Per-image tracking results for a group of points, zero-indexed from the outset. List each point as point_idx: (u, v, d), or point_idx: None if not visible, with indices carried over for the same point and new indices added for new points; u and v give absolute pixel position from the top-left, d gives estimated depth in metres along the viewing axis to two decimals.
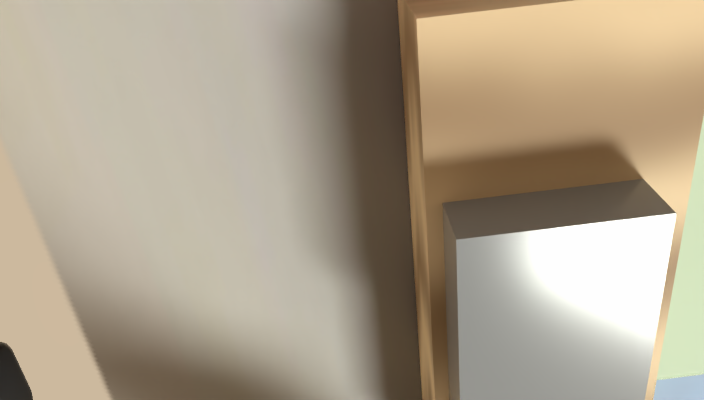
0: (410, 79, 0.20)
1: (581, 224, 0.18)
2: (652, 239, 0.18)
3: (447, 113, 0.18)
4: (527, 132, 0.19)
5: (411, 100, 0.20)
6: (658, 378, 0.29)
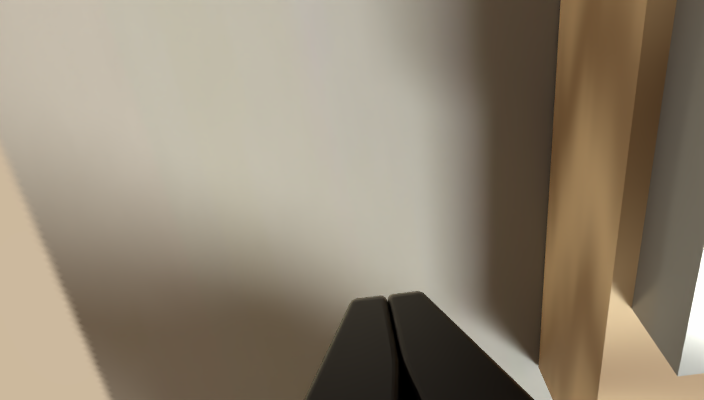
0: None
1: None
2: None
3: None
4: None
5: None
6: None
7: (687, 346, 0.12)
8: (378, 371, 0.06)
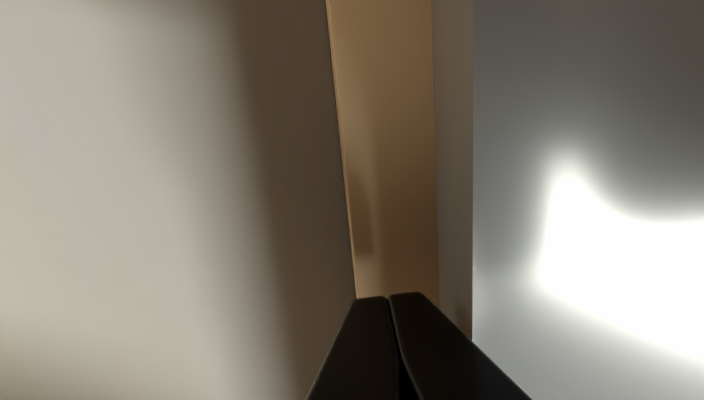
0: None
1: None
2: None
3: None
4: None
5: None
6: None
7: None
8: (379, 371, 0.06)
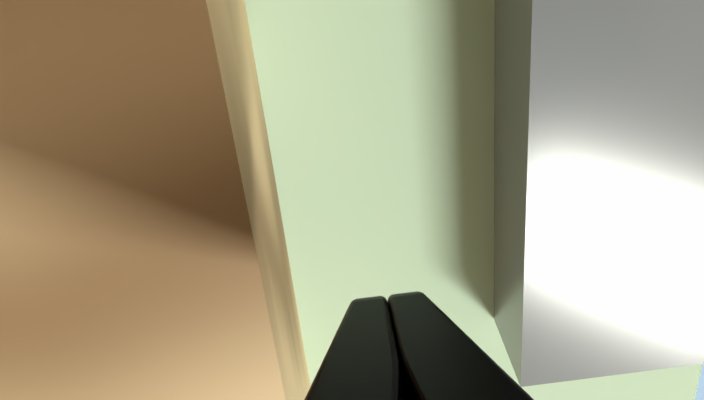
0: None
1: None
2: None
3: None
4: None
5: None
6: None
7: None
8: (378, 371, 0.06)
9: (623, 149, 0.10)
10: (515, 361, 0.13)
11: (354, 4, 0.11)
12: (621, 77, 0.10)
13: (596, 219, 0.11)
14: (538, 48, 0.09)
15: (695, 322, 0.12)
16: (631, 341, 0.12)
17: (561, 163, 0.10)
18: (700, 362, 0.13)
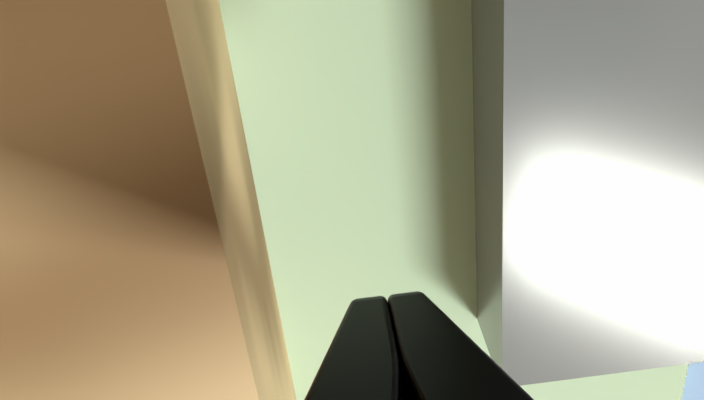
0: None
1: None
2: None
3: None
4: None
5: None
6: None
7: None
8: (378, 371, 0.06)
9: (599, 149, 0.10)
10: (496, 362, 0.13)
11: (329, 3, 0.11)
12: (596, 76, 0.10)
13: (573, 219, 0.11)
14: (511, 46, 0.09)
15: (676, 322, 0.12)
16: (612, 342, 0.12)
17: (537, 163, 0.10)
18: (682, 362, 0.13)
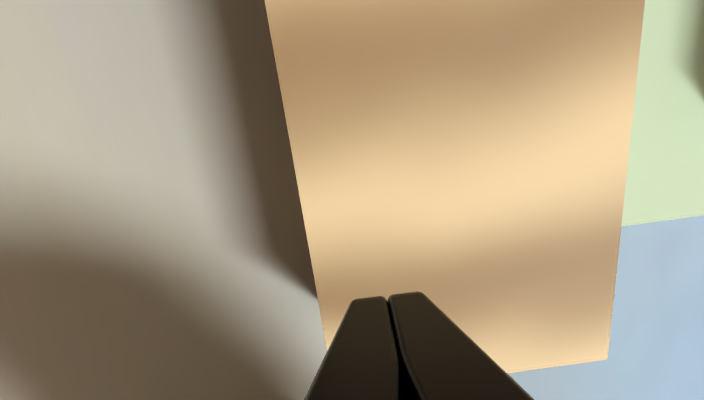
0: None
1: None
2: None
3: None
4: None
5: None
6: (638, 221, 0.22)
7: None
8: (378, 371, 0.06)
9: None
10: None
11: None
12: None
13: None
14: None
15: None
16: None
17: None
18: None
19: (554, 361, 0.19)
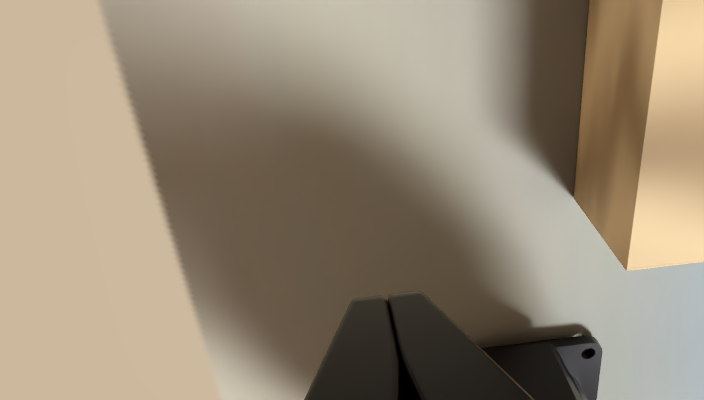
0: None
1: None
2: None
3: None
4: None
5: None
6: None
7: None
8: (378, 371, 0.06)
9: None
10: None
11: None
12: None
13: None
14: None
15: None
16: None
17: None
18: None
19: None
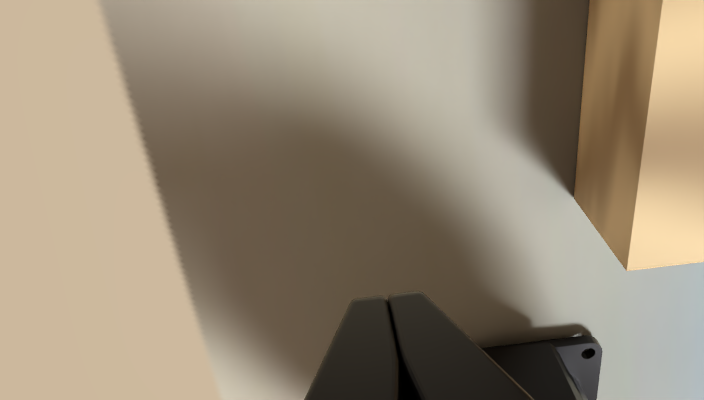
0: None
1: None
2: None
3: None
4: None
5: None
6: None
7: None
8: (378, 371, 0.06)
9: None
10: None
11: None
12: None
13: None
14: None
15: None
16: None
17: None
18: None
19: None
